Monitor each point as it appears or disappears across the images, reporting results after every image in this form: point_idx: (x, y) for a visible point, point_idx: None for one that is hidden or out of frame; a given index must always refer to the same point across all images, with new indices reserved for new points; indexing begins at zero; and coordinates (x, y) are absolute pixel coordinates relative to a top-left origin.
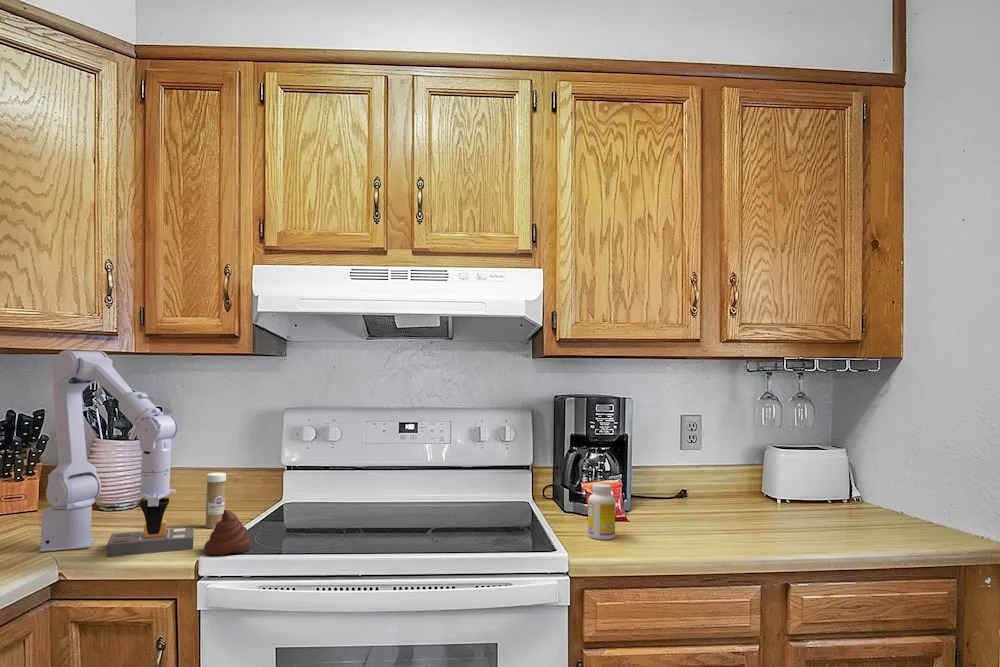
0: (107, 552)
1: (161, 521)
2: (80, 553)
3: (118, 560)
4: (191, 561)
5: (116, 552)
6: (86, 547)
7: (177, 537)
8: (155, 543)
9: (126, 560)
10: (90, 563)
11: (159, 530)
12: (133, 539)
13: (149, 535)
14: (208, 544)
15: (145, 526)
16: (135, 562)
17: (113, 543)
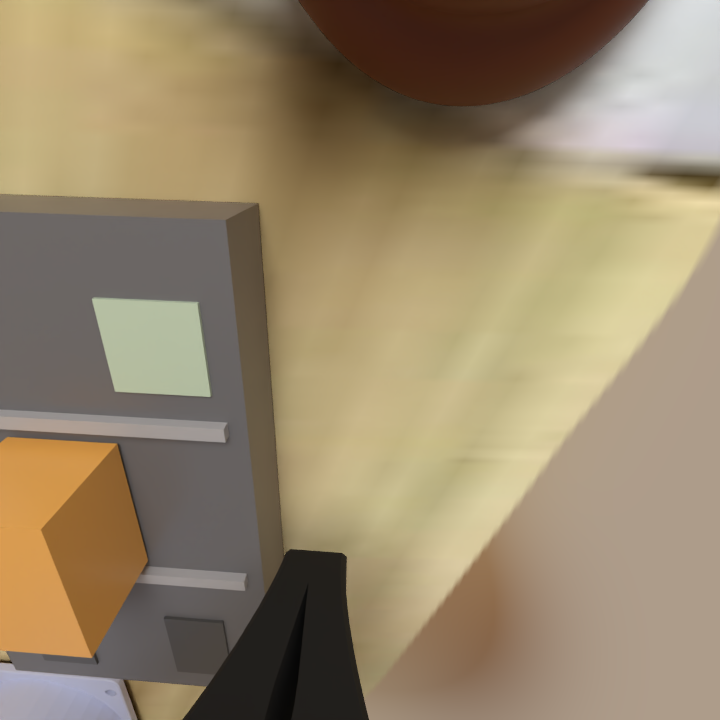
0: None
1: (356, 668)
2: (198, 689)
3: (385, 590)
4: (659, 228)
5: None
6: (123, 683)
7: (202, 363)
8: (261, 486)
9: (402, 564)
10: (388, 668)
11: (341, 576)
12: (183, 600)
13: (134, 541)
14: (571, 49)
15: (100, 630)
16: (468, 533)
17: None
